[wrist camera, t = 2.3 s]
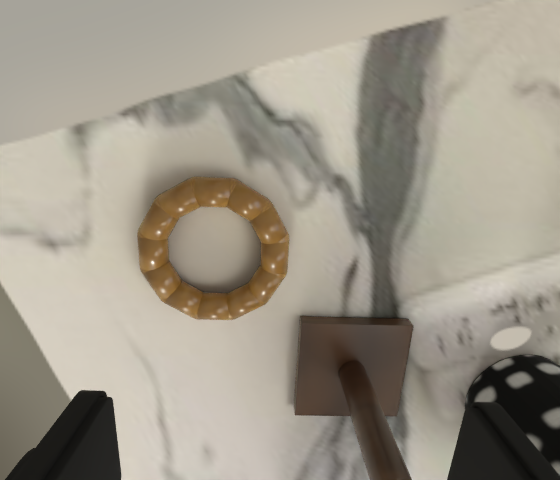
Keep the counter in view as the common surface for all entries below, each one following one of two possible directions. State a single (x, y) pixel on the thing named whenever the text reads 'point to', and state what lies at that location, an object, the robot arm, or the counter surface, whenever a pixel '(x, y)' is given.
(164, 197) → the ring
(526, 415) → the white-spotted black cylinder
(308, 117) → the counter surface
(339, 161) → the counter surface
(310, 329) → the stand
